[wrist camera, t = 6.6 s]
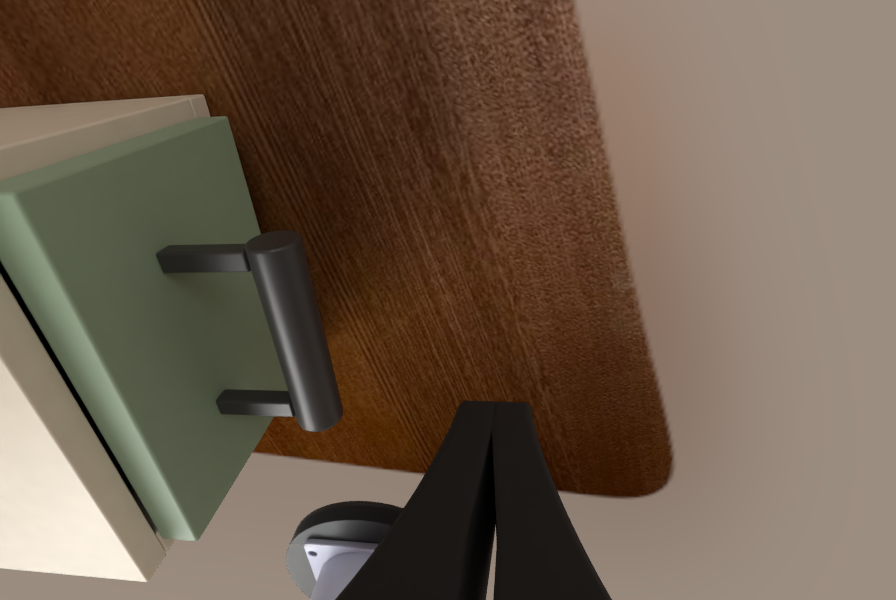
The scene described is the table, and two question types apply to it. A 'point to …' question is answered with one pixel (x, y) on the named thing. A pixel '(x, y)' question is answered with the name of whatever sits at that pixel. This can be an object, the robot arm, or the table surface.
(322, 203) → the table surface
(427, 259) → the table surface
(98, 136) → the storage box
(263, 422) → the drawer
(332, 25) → the table surface
